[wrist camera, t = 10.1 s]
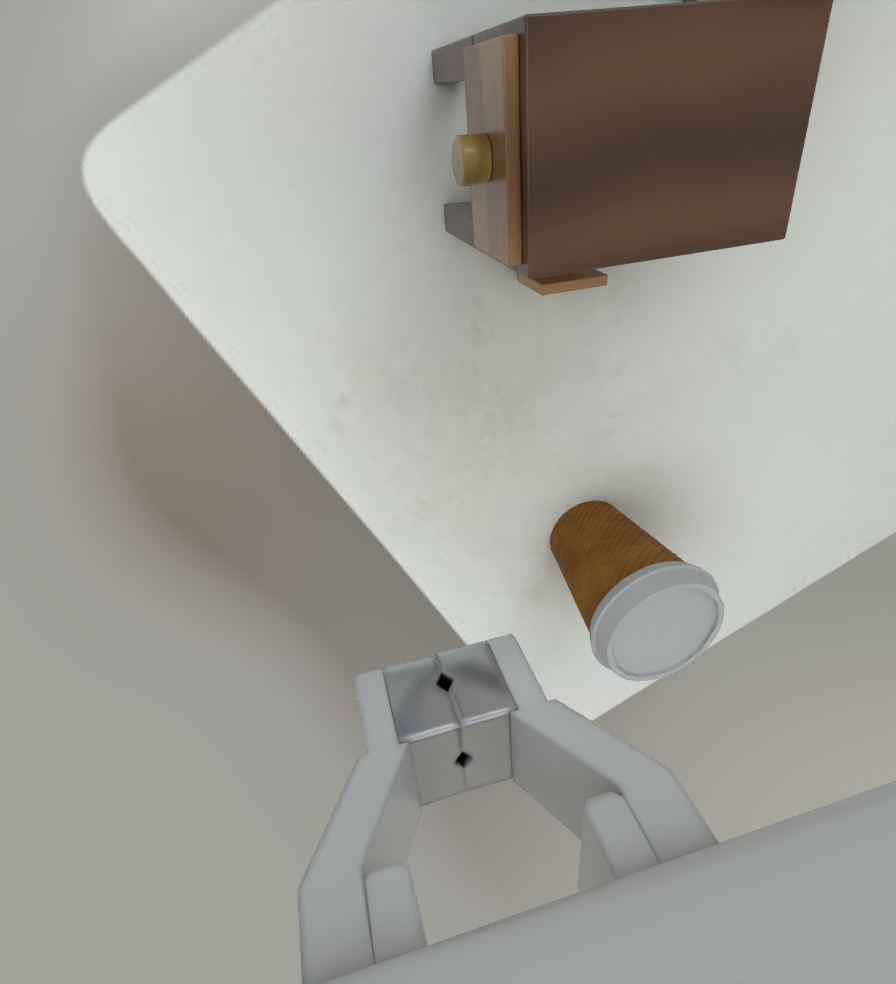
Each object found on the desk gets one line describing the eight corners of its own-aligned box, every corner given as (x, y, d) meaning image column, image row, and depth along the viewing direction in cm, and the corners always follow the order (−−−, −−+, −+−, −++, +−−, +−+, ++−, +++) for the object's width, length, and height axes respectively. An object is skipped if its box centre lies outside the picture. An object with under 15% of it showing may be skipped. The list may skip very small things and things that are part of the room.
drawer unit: (396, 53, 30) (472, 17, 20) (646, 32, 33) (836, -10, 22) (415, 235, 35) (486, 286, 24) (633, 204, 37) (785, 239, 27)
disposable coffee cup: (573, 595, 54) (645, 703, 44) (508, 542, 49) (573, 650, 39) (657, 524, 52) (752, 619, 42) (599, 460, 47) (691, 552, 37)
